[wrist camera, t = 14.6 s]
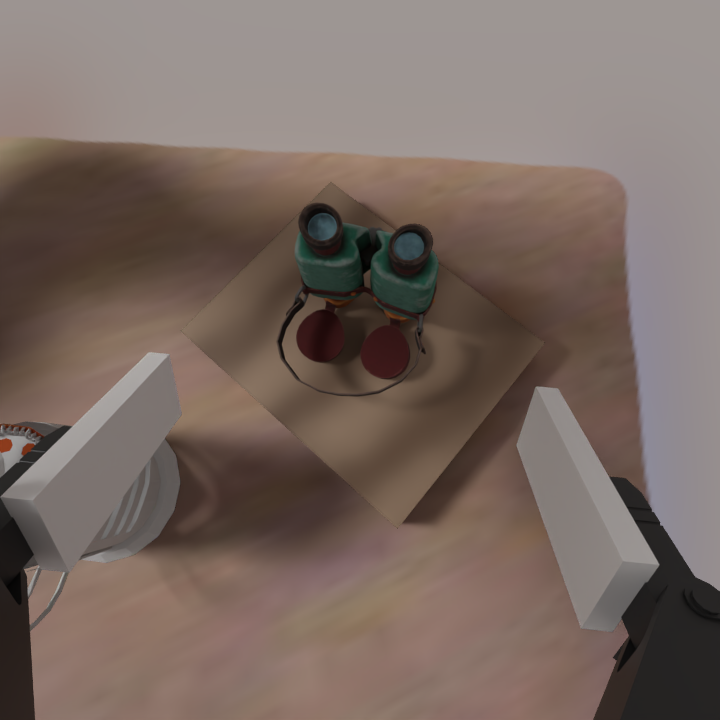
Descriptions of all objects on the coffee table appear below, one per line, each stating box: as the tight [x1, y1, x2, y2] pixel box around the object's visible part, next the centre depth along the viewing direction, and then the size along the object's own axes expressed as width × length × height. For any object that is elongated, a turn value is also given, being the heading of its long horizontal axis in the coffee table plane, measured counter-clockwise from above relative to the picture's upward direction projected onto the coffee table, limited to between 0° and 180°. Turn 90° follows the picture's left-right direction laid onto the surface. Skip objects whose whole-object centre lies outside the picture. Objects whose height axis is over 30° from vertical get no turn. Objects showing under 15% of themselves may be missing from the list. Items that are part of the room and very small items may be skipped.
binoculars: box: [276, 203, 439, 397], centre depth 24 cm, size 9×11×10 cm
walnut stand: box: [181, 182, 545, 529], centre depth 31 cm, size 20×16×2 cm
